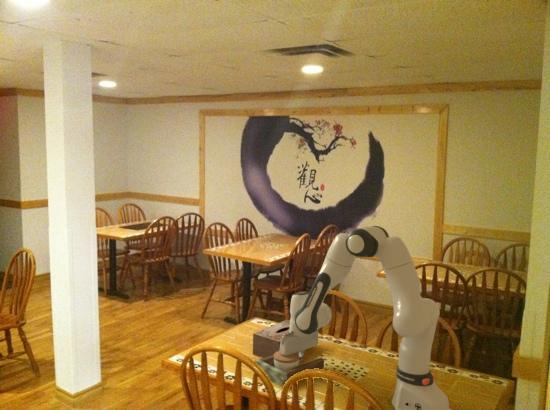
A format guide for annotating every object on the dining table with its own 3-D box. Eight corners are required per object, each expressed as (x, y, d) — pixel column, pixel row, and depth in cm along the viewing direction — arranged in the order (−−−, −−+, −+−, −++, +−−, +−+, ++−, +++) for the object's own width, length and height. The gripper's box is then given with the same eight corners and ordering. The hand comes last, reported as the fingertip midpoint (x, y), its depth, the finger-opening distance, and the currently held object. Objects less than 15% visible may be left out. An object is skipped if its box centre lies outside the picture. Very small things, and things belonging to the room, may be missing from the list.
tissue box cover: (286, 339, 245) (286, 319, 244) (310, 346, 236) (311, 326, 235) (252, 354, 225) (253, 333, 224) (277, 363, 216) (278, 341, 215)
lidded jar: (268, 369, 209) (269, 348, 208) (291, 365, 213) (292, 344, 212) (280, 380, 199) (280, 358, 198) (303, 376, 204) (304, 354, 203)
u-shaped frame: (323, 370, 210) (324, 359, 209) (282, 387, 194) (283, 374, 193) (295, 357, 222) (295, 346, 222) (254, 372, 206) (255, 360, 205)
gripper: (287, 336, 201) (285, 369, 202) (321, 326, 214) (319, 356, 216) (276, 332, 205) (275, 364, 207) (310, 322, 219) (309, 352, 220)
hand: (298, 360), depth 211 cm, fingers closed
